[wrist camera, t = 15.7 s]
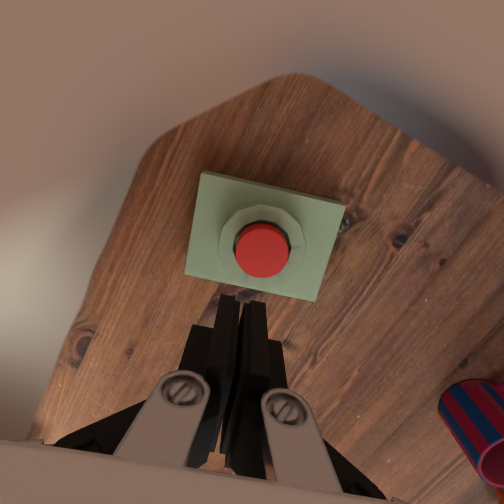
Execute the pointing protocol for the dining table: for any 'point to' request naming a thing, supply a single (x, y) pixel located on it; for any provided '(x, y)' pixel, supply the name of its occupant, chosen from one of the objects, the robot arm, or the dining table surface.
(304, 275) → the switch box
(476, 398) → the cup
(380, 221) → the dining table surface
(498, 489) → the pot
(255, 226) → the button
